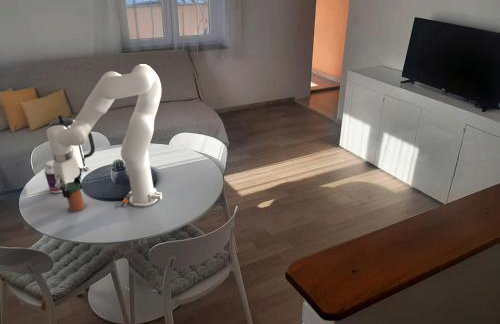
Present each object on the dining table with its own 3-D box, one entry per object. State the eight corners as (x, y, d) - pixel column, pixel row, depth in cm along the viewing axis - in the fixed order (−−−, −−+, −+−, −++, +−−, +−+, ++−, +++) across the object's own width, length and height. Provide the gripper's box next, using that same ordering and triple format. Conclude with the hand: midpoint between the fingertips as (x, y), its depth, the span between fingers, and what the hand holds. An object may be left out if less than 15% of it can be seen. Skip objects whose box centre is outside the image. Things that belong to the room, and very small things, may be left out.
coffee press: (81, 178, 203) (67, 121, 189) (52, 176, 205) (36, 120, 192) (98, 162, 218) (86, 108, 204) (71, 161, 220) (57, 108, 207)
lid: (70, 184, 178) (69, 181, 177) (84, 186, 176) (83, 182, 175) (60, 192, 172) (59, 188, 171) (73, 194, 170) (72, 190, 170)
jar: (87, 204, 180) (82, 184, 176) (79, 212, 175) (73, 191, 170) (75, 203, 182) (69, 182, 177) (67, 210, 177) (61, 189, 172)
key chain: (130, 192, 189) (130, 189, 188) (138, 193, 188) (137, 190, 188) (116, 207, 178) (115, 204, 177) (124, 208, 177) (123, 205, 176)
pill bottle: (62, 194, 189) (54, 167, 182) (46, 193, 190) (38, 166, 184) (72, 186, 196) (65, 159, 189) (57, 184, 197) (49, 158, 191)
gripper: (69, 146, 175) (78, 182, 183) (40, 164, 161) (51, 202, 169) (84, 147, 173) (93, 184, 181) (56, 166, 159) (66, 204, 167)
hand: (73, 192), depth 175 cm, fingers closed on lid, 6 cm apart
